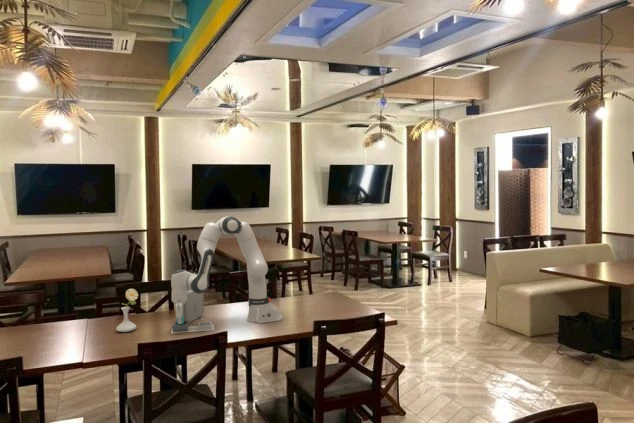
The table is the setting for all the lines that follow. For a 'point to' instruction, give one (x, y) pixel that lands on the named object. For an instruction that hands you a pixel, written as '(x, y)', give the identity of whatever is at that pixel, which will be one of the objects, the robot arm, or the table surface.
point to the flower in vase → (127, 324)
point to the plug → (181, 319)
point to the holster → (204, 325)
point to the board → (193, 329)
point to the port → (180, 327)
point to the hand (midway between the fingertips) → (180, 321)
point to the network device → (193, 306)
